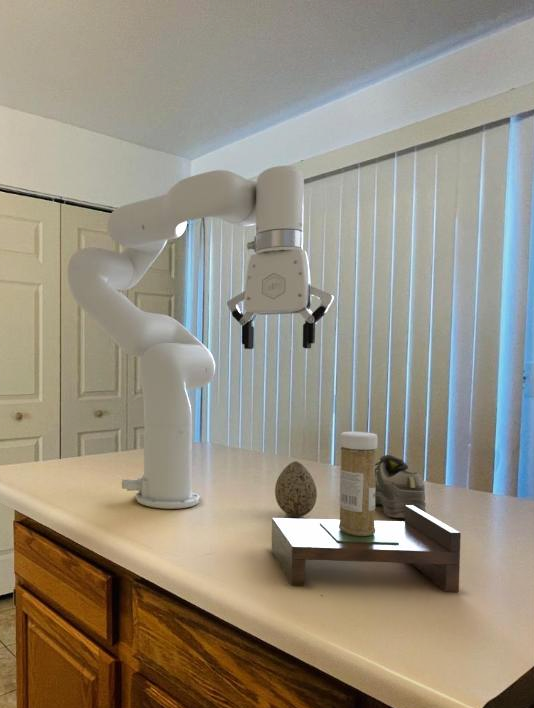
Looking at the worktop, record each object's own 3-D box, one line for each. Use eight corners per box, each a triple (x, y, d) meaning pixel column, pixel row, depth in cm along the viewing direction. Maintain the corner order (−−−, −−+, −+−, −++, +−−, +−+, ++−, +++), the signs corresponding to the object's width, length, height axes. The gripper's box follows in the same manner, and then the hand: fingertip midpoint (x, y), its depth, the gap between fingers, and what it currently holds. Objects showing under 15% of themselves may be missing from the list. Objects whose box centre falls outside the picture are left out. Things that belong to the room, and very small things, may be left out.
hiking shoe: (400, 482, 111) (374, 434, 110) (453, 524, 90) (422, 465, 89) (359, 502, 112) (333, 455, 111) (403, 547, 92) (371, 489, 91)
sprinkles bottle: (383, 535, 69) (385, 434, 68) (353, 538, 68) (355, 436, 67) (359, 525, 73) (361, 430, 73) (330, 527, 72) (332, 431, 72)
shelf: (291, 585, 66) (292, 527, 65) (271, 550, 78) (272, 501, 77) (459, 592, 64) (461, 532, 64) (411, 555, 76) (413, 505, 76)
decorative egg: (307, 524, 90) (308, 467, 89) (268, 516, 94) (268, 462, 94) (321, 515, 95) (323, 461, 95) (283, 508, 100) (284, 456, 99)
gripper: (221, 247, 88) (220, 348, 89) (330, 234, 79) (327, 347, 80) (235, 255, 95) (234, 349, 96) (338, 244, 86) (336, 348, 86)
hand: (277, 348), depth 88 cm, fingers open, 9 cm apart
